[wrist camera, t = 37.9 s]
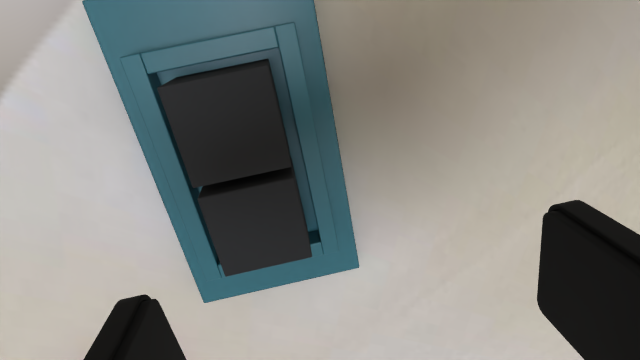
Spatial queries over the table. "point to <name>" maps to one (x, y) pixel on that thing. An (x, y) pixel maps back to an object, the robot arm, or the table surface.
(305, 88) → the dock
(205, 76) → the black block
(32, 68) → the table surface
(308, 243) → the black square block
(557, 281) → the robot arm
